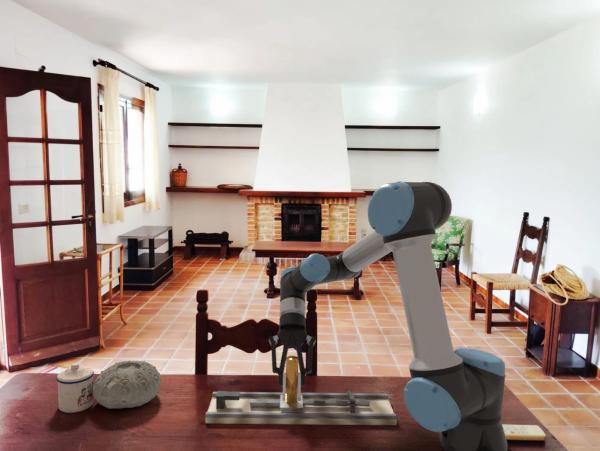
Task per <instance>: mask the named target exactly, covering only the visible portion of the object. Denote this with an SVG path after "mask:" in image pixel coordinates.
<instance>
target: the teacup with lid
mask: <svg viewBox="0 0 600 451" xmlns="http://www.w3.org/2000/svg"><path fill="white" fill-rule="evenodd" d="M94 374H95V372H94V370H93V369H92V368H91V367H89V366H84V365H83V366H82V365H80V364H79V363H78V362H74V363H71V365H70V367H68V368H65V369H63V370H61V371H60V372H59V373H58V374H57V376H56V377H55V378H56V381H57V395H58V397H57V398H58V409H59V410H60V412H63V413H69V414H72V413H79V412H83V411H85V410H88V409H89V408H91V407H92V406H93V405H94V402H95V398H94V396H93V392H92V388H93V385H94Z"/></svg>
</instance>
